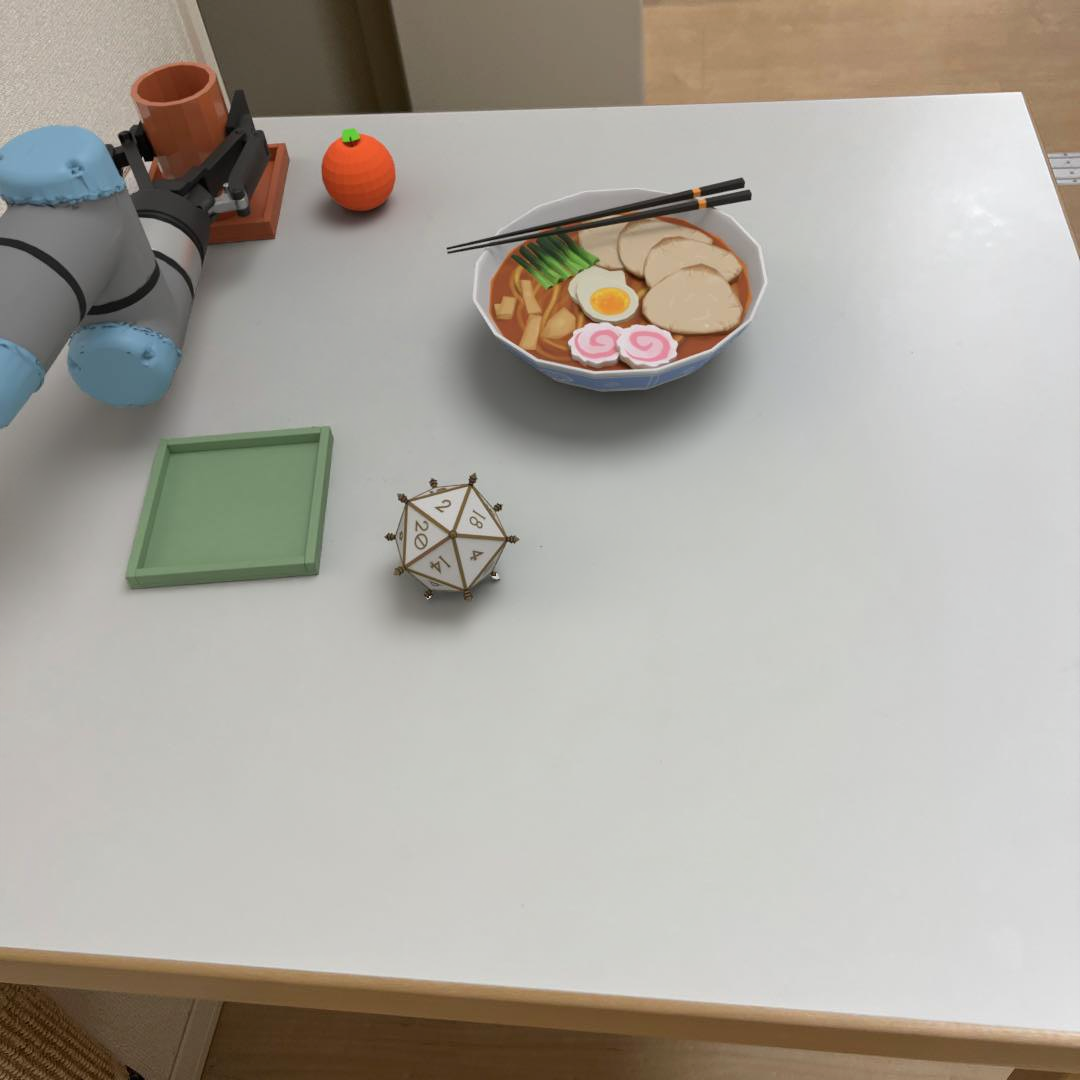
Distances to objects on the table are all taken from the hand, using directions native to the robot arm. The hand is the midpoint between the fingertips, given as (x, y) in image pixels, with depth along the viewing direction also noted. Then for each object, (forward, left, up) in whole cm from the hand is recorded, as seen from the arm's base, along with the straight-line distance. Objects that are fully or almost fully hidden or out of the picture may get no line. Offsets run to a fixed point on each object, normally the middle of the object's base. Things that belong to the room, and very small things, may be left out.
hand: (199, 107), depth 102 cm
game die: (+37, -45, -8) cm, 59 cm away
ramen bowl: (+44, -20, -8) cm, 49 cm away
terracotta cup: (+1, -5, -7) cm, 8 cm away
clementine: (+16, -3, -8) cm, 18 cm away
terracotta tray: (+1, -5, -7) cm, 9 cm away
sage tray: (+19, -42, -7) cm, 46 cm away
